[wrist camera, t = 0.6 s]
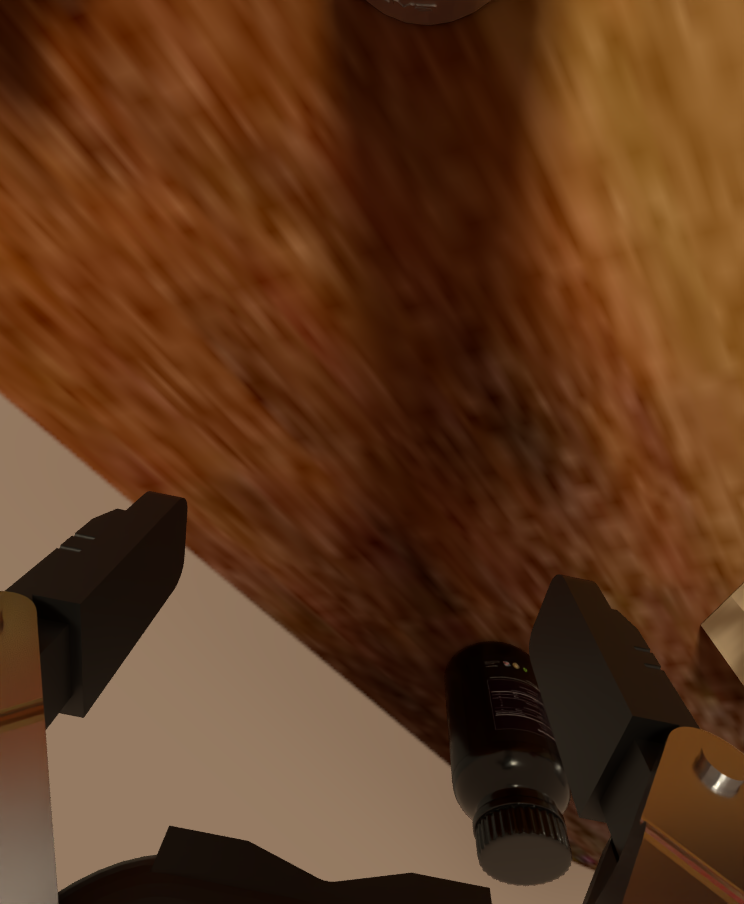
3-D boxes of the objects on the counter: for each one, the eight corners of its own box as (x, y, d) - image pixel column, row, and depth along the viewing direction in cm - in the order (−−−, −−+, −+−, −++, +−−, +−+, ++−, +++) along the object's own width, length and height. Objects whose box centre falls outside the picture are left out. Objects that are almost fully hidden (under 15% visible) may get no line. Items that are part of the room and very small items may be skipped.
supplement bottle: (515, 714, 38) (555, 910, 27) (431, 690, 38) (437, 879, 27) (555, 652, 35) (618, 844, 24) (464, 625, 35) (486, 808, 24)
